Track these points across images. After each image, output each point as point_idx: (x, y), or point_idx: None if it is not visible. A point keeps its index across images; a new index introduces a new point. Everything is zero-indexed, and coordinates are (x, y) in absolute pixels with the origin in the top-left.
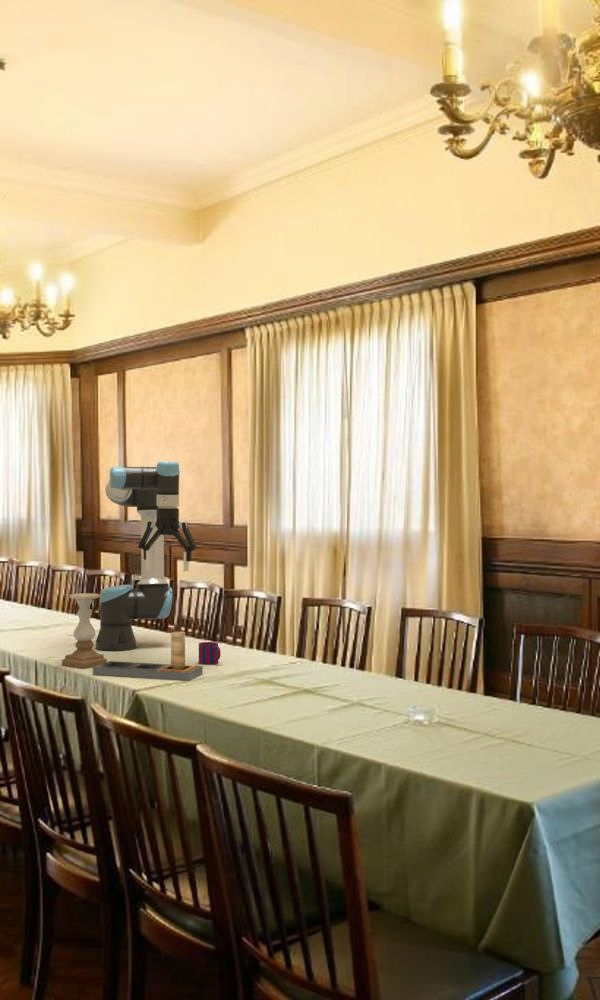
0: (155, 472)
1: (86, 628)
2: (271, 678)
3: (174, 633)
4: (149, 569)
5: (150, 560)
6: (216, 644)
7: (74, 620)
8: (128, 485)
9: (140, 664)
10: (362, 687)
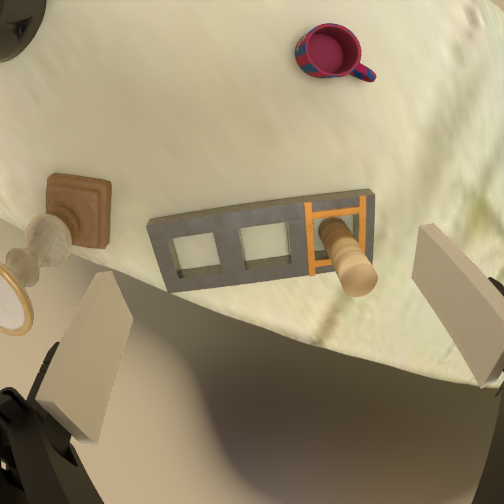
0: None
1: (56, 260)
2: (483, 182)
3: (356, 296)
4: (124, 300)
5: (95, 334)
6: (360, 56)
7: None
8: None
9: (234, 231)
10: None
